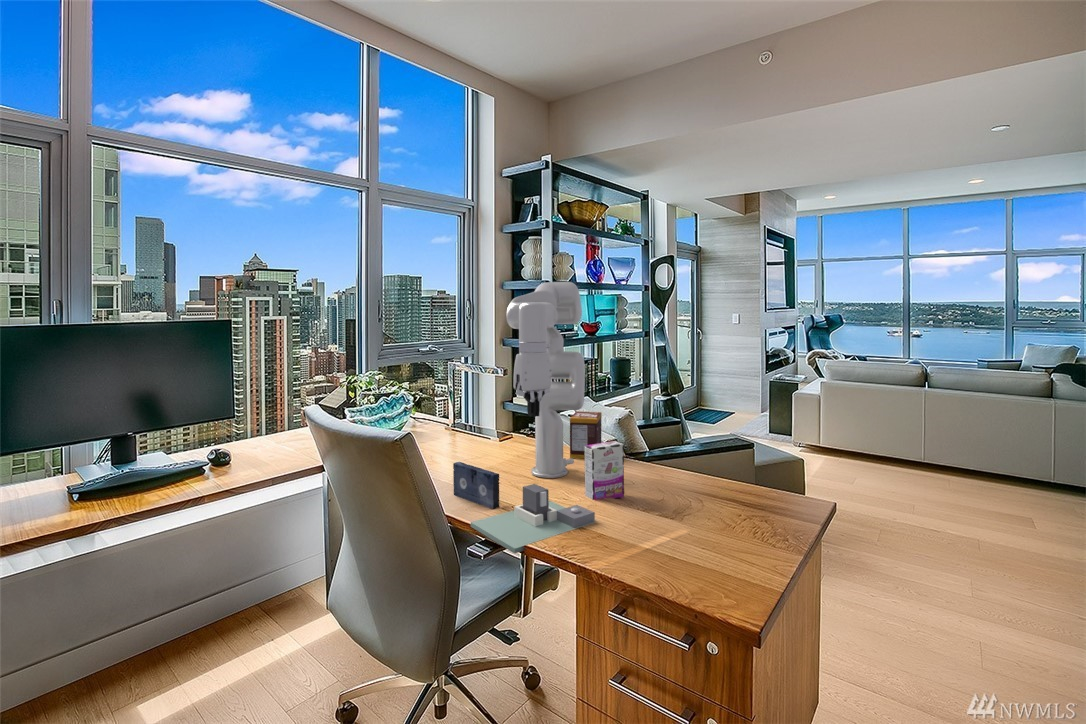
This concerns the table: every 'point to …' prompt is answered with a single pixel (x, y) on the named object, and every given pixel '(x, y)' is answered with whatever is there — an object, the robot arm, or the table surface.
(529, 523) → the board
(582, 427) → the supplement box
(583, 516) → the grey button box
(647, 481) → the table surface
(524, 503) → the plug
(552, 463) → the robot arm
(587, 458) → the candy bar box
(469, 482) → the vhs cassette tape
